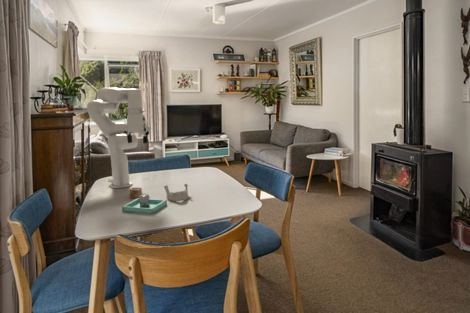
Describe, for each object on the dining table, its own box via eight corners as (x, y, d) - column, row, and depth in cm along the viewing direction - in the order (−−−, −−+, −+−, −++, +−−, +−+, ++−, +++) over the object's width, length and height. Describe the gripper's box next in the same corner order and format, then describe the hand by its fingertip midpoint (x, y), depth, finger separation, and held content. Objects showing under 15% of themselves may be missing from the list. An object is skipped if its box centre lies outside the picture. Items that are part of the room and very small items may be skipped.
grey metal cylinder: (138, 207, 157) (137, 196, 156) (143, 204, 161) (142, 194, 160) (146, 208, 156) (145, 197, 155) (151, 205, 160) (150, 194, 159)
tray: (122, 211, 154) (121, 206, 154) (138, 202, 168) (138, 197, 167) (152, 214, 150) (152, 209, 150) (166, 204, 163) (166, 200, 163)
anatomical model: (167, 202, 164) (165, 182, 166) (165, 204, 174) (163, 186, 176) (193, 198, 168) (190, 180, 170) (189, 201, 178) (187, 183, 180)
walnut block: (129, 199, 174) (129, 190, 173) (133, 196, 178) (132, 187, 178) (139, 199, 173) (138, 190, 172) (142, 196, 178) (141, 187, 177)
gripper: (153, 111, 179) (155, 142, 182) (125, 111, 184) (128, 141, 187) (145, 112, 172) (148, 144, 175) (117, 112, 177) (120, 143, 180)
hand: (137, 142), depth 181 cm, fingers open, 9 cm apart
